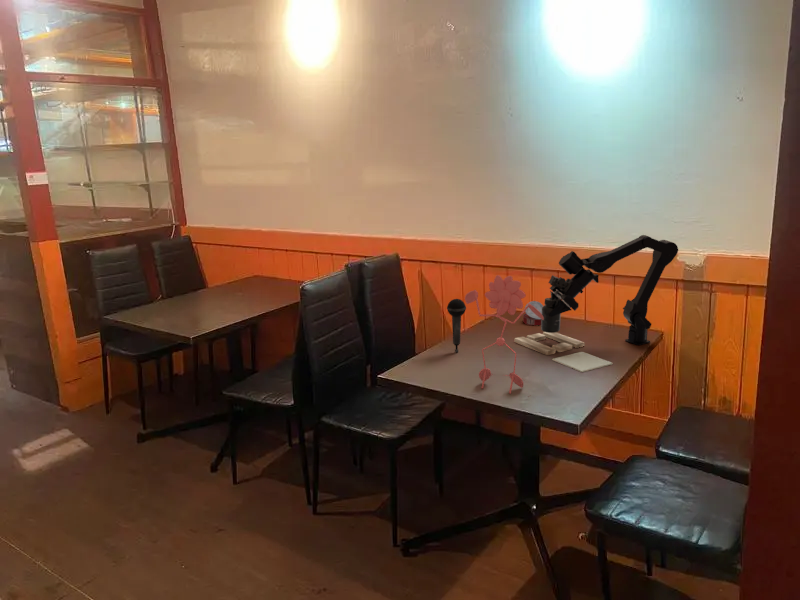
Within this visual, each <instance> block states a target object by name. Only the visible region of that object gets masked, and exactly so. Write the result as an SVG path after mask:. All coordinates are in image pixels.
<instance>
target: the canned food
mask: <svg viewBox="0 0 800 600" xmlns="http://www.w3.org/2000/svg"><path fill="white" fill-rule="evenodd" d="M529 303H530V304H531V305H532V306H534V307H535V308H536V309H537V310H538V311H539V312H540V313H541V314H542V307H543V306H544V305H543V304H542V302H539V301H536V300H532V301H529V302H528V303H526V305H525V307H524V309H525V308H526V307H527V305H528V304H529ZM522 316H523V317H522V319H523V320H522V321H523V322H524V323H525V324H524V323H523V322H522V323H523V324H524V325H527V326H532V325H534V327H536V326H535V325H541V318H540V317H538V316H537V315H536V314H535V313H533V312H532V311H531V309H530V308H529V307H528V308H527V309H526V311H525V312H524V313H523V314H522Z"/></svg>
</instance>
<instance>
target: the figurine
mask: <svg viewBox="0 0 800 600" xmlns="http://www.w3.org/2000/svg"><path fill="white" fill-rule="evenodd" d="M521 286H522V282H521V281H519V280H513V276H512V275H507V276H505V278H502V276H501V275H499V274H498V275H497V274H496V276H495V277H494V280H493V281H490V282H489V283H488V287H489V290H490V291H486V292H485V293H484V297H485V298H486V299H487V300H488V301H490V302H489V308H491V309H496V314H481V312H480V306H479V300H478V298H479V292H478V291H477V290H476V289H474V290H470V291H468V292H467V293H466V294H465V296H464V301H465V304H467V305H469V304H471V303H473V302H474V303H476V308H477V312H478V313H477V314H478V315H479V316H478V317H496V318H499V319H500V320H501V321H502V322H504V325H503V327H502V331H501V334H500V337H498V338H496V341H495V342H494V343H491V344H489V345H488V346H486V347H484V348H482V349H481V352H482V360H483V366H484V368H482V369H480V371H479V373H478V376H479V377H478V378H479V379H480V380H481V381H482V384H481V389H482V390H483V389H484V385H485V382H486V381H487V380H489V379H490V378H491V376H492V372H491V369H490V368H488V367H486V360H485V353H484V351H485V350H486V349H488V348H490V347H492V346H494V345H495V344H496V345H497V346H499V347H503V346H504V345H505V346H506V347H508V348H509V350H511V351H512V352H513V353H514V354H515V355H514V365H513V372H509V374H504V375H505V376H507V377H509V378H510V385H509V386H510V387H509V391H508V394H512V389H513V385H514V384H515V385H516V386H518V387H519V388H521V389H523V387H524V381H523V378H521V377H520V376H519V375H518V374H516V363H517V352H516V351H515V350H513V348H511V347H510V346H509V345H508V344H507V343H506V340H505V339H504V337H503V335H504V331H505V329H506V326H507V324H508V323H509V324H512V325H514V324H515V323H517V321H518V320H519V319H520V318H521V316H523V315H524V314H525V313H526V312H525V311H526V309H527V308H528V307H529V308H530V309H531V311H532V312H533V313H535V314H536V315H537V316H538V317H540V318H541V319H542V320H544V318H543V315H542V314H541V313H540V312H539V311H538V310H537V309H536V308H535V307H534V306H532V305H531V304H530V303H529V302H528V303H529V304H528V303H527V304H528V305H527V304H526V305H527V307H526V308H525V307H524V304H523V300H522V299H524V298H526V293H525V292H524V291H523V290H522V289H520V288H521ZM523 308H524V309H523ZM517 309H522V311H521V312H520V313H519V315H518V316H517V317H516V318H515V319H514V321H511V320H509V319H507V318H506V317H503V316H502V315H505V314H506V312H507V313H508V314H509V315H510V316H515V313H516V312H517ZM530 397H531V395H529V396H527V398H530Z"/></svg>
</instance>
